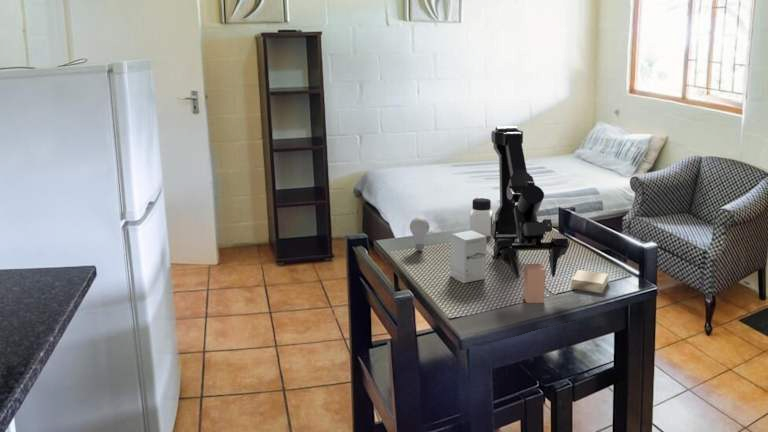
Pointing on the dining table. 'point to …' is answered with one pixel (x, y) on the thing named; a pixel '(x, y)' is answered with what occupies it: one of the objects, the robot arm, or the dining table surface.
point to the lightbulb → (419, 231)
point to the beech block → (589, 281)
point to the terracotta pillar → (534, 283)
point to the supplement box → (468, 256)
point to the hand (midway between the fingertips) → (535, 276)
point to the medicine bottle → (481, 216)
